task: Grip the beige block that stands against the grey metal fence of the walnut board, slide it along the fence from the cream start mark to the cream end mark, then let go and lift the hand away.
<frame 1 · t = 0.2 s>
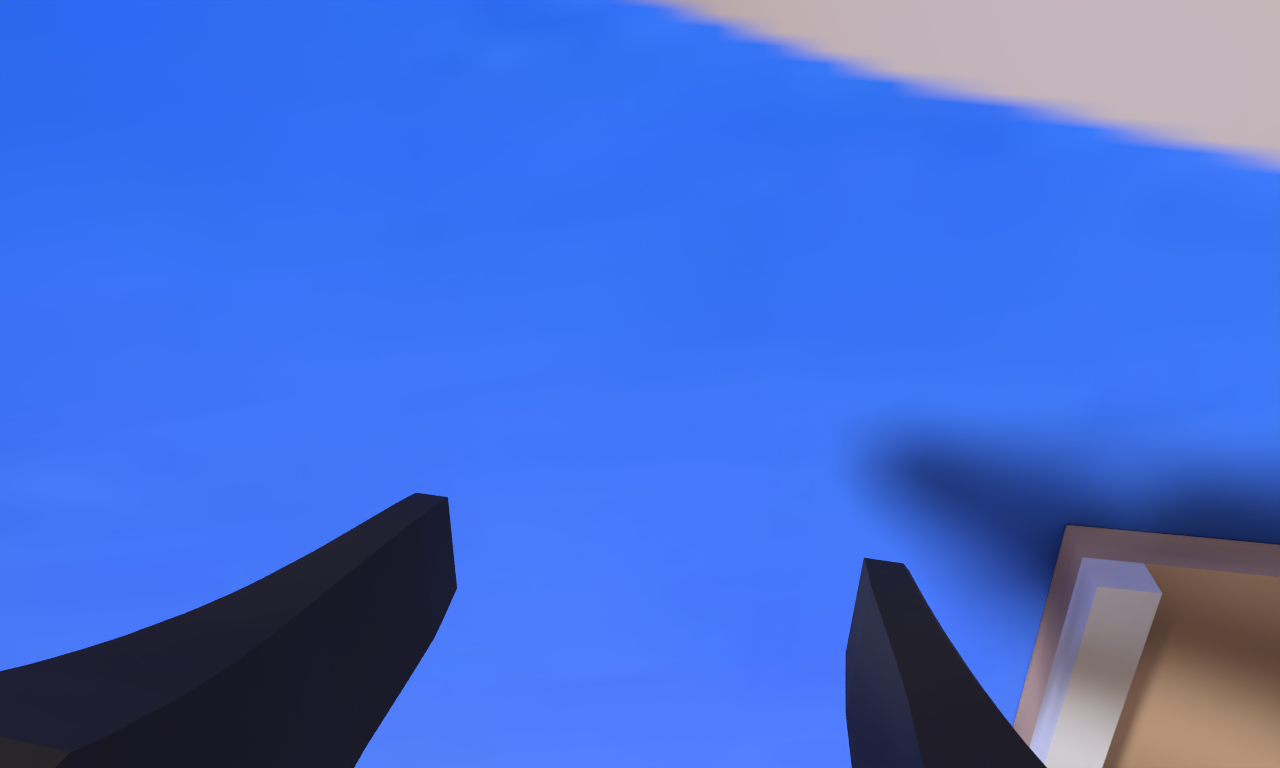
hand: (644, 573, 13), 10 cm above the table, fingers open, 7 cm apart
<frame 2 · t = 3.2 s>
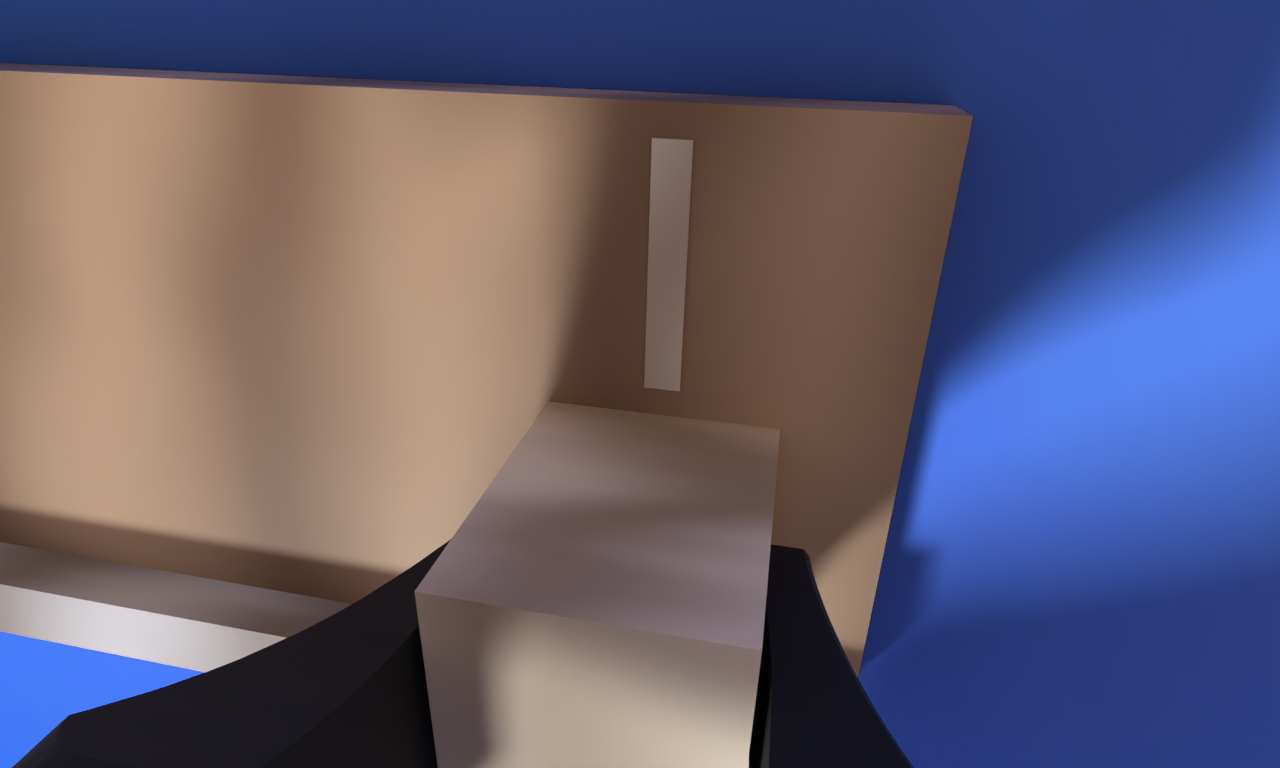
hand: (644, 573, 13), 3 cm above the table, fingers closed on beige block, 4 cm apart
beige block: (656, 534, 14), point 1 cm above the table, touching gripper, walnut board
walnut board: (342, 385, 16), on the table
when the fingers open (3 cm above the table, at t = 8.1 s): beige block stays where it is, resting on walnut board.
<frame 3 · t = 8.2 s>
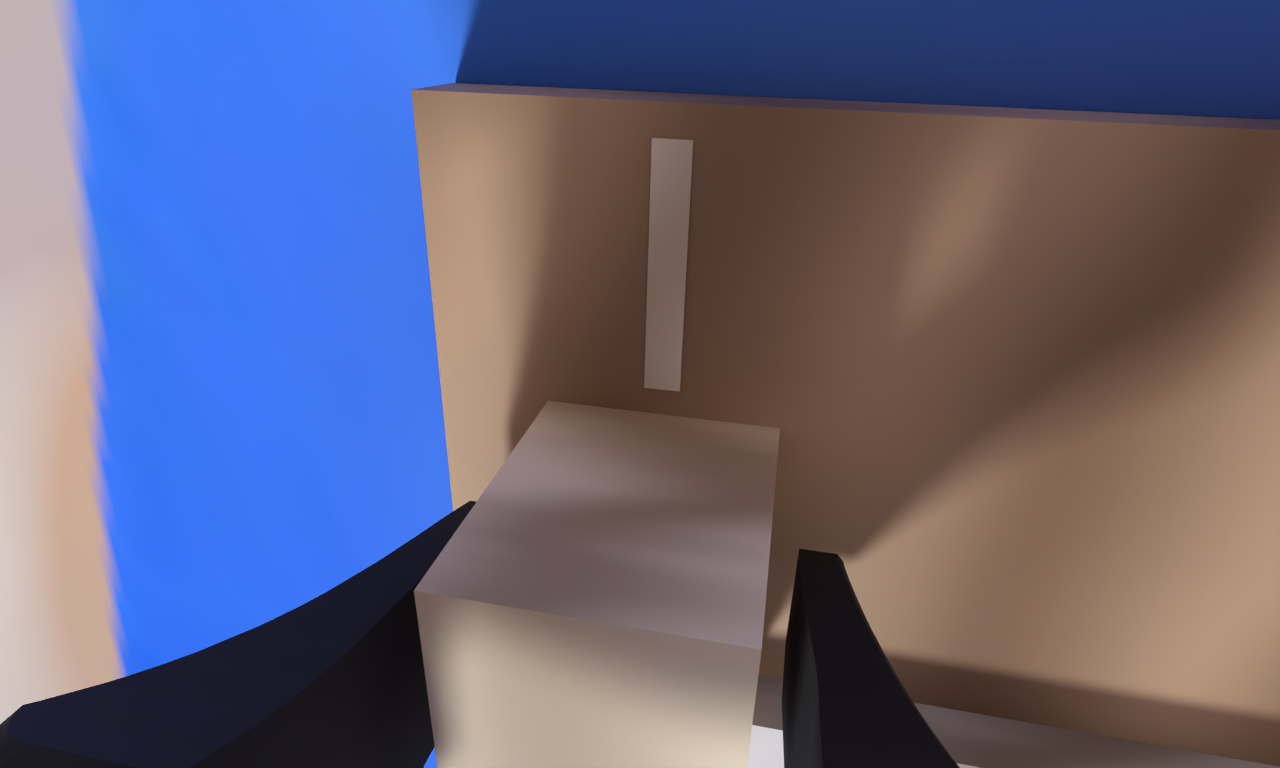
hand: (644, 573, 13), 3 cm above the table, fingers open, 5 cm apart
beige block: (655, 534, 14), point 1 cm above the table, touching walnut board
walnut board: (1063, 472, 13), on the table
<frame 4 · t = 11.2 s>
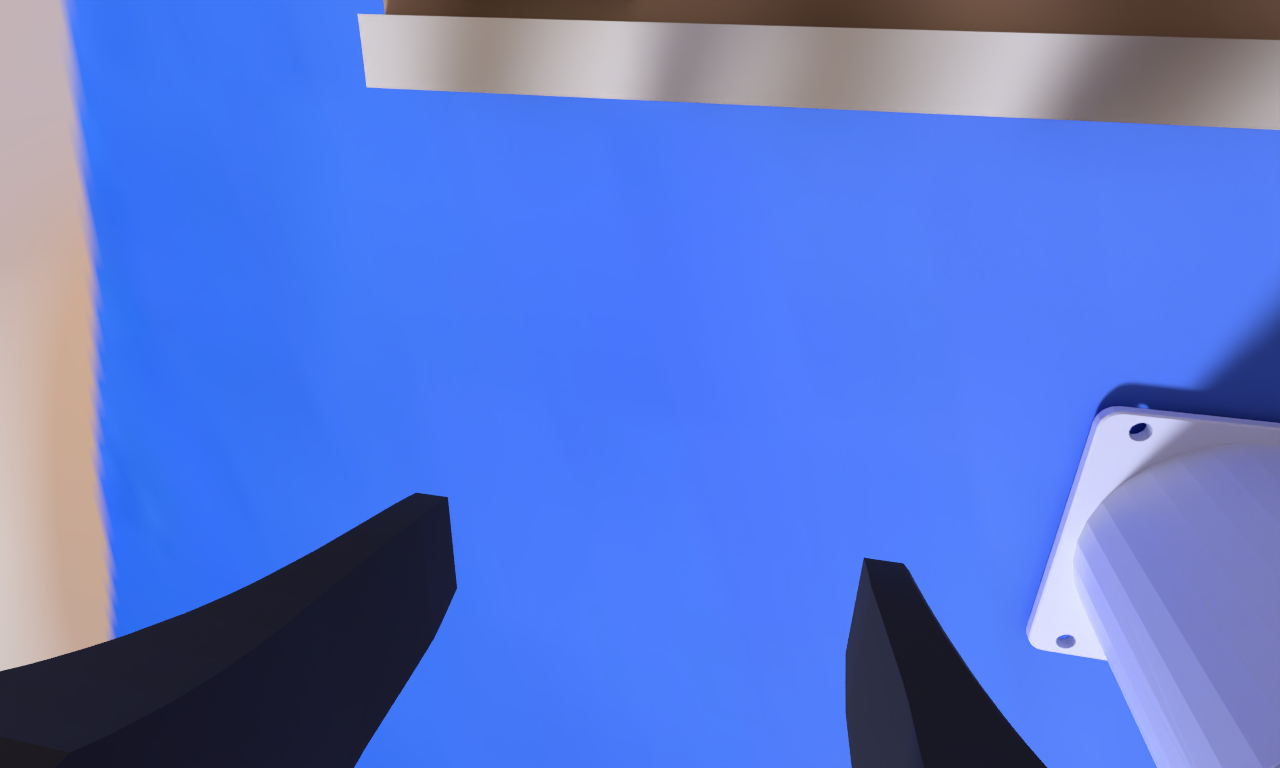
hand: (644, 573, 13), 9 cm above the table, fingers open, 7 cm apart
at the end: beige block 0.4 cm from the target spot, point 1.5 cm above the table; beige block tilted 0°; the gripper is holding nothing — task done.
